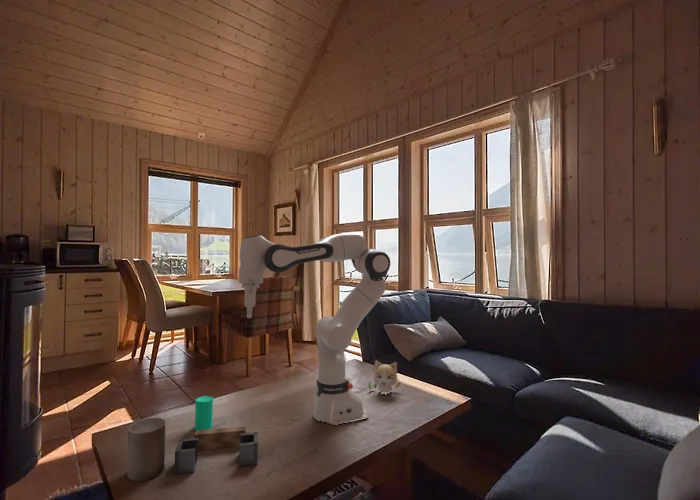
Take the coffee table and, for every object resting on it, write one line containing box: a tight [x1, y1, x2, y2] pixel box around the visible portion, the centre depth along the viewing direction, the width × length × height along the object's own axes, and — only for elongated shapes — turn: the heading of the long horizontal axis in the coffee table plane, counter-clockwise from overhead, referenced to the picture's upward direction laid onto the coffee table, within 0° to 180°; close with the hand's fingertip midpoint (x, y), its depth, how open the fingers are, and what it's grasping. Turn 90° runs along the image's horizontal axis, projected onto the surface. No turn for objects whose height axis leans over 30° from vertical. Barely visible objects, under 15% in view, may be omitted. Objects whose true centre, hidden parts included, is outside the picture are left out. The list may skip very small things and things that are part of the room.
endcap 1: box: [173, 438, 199, 476], centre depth 109 cm, size 5×7×6 cm
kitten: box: [368, 359, 402, 392], centre depth 172 cm, size 15×10×15 cm
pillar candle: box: [126, 417, 166, 482], centre depth 106 cm, size 10×10×15 cm
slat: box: [194, 425, 247, 452], centre depth 121 cm, size 16×3×6 cm, turn 104°
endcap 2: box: [238, 431, 259, 468], centre depth 114 cm, size 5×7×6 cm
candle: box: [194, 394, 214, 431], centre depth 134 cm, size 6×6×12 cm
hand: (249, 315), depth 135 cm, fingers open, 8 cm apart
